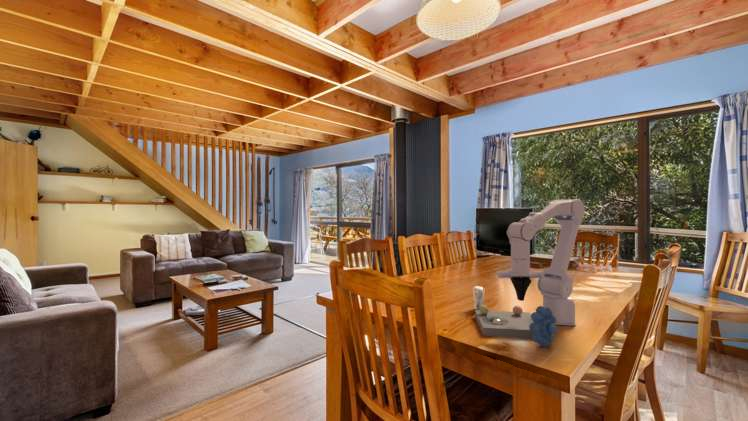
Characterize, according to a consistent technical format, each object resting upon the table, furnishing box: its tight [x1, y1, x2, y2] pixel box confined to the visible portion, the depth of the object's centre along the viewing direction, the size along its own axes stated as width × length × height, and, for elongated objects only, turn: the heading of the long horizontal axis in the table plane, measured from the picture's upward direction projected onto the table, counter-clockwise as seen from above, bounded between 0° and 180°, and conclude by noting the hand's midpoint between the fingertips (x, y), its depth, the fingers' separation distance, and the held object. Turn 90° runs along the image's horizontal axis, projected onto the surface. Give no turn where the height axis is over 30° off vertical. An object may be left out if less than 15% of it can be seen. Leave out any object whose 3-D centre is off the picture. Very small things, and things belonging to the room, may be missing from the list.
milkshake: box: [472, 285, 486, 311], centre depth 128 cm, size 4×5×10 cm
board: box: [474, 309, 533, 339], centre depth 109 cm, size 19×18×2 cm
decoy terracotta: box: [512, 305, 524, 315], centre depth 114 cm, size 3×3×3 cm
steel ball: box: [492, 319, 502, 323], centre depth 108 cm, size 3×3×3 cm
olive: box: [479, 304, 490, 315], centre depth 115 cm, size 3×3×3 cm
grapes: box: [529, 305, 559, 348], centre depth 93 cm, size 12×7×12 cm, turn 122°
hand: (520, 299), depth 107 cm, fingers closed
